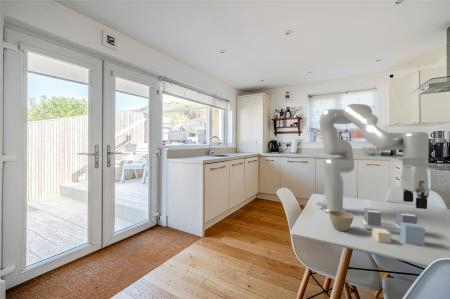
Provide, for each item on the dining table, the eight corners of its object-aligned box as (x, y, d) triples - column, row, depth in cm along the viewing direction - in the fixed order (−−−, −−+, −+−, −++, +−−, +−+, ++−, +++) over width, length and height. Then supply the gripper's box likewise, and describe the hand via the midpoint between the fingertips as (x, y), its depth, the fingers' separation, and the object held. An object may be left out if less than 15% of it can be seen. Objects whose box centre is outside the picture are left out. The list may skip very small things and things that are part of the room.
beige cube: (378, 242, 83) (378, 232, 82) (372, 237, 87) (372, 228, 87) (390, 243, 82) (391, 233, 82) (384, 238, 86) (384, 228, 86)
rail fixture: (366, 230, 93) (366, 212, 93) (360, 222, 102) (361, 206, 101) (421, 237, 87) (421, 218, 86) (410, 228, 95) (410, 211, 95)
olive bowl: (353, 235, 88) (353, 219, 88) (327, 230, 93) (328, 215, 93) (353, 227, 96) (353, 212, 96) (329, 223, 102) (329, 209, 101)
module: (405, 243, 81) (405, 226, 81) (399, 238, 86) (400, 222, 85) (424, 246, 79) (425, 228, 79) (417, 240, 84) (418, 224, 83)
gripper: (393, 160, 90) (393, 198, 91) (414, 164, 74) (414, 210, 75) (415, 161, 88) (414, 200, 88) (441, 165, 72) (440, 212, 72)
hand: (414, 204), depth 81 cm, fingers open, 9 cm apart
